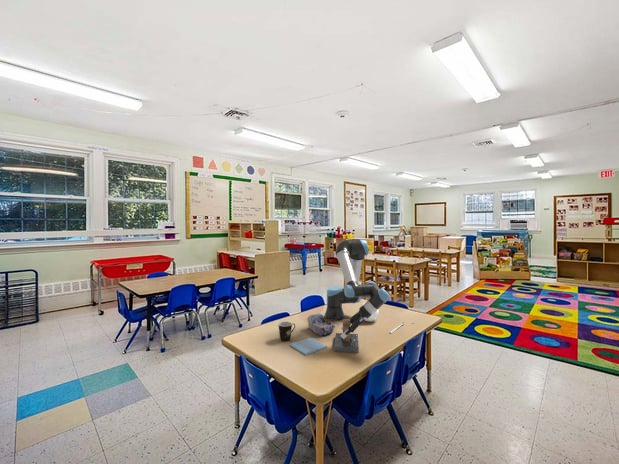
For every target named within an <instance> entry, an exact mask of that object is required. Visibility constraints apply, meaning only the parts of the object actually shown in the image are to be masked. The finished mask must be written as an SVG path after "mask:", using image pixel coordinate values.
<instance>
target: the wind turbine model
mask: <svg viewBox="0 0 619 464" xmlns="http://www.w3.org/2000/svg"><path fill="white" fill-rule="evenodd" d="M404 324H405V321H402V323H401V324H400V325H397V326H396V327H395V328H394V329H392V330H390V331H389V334H393V333H394V332H396V331H397V330H398V329H399V328H401V327H402V326H405V325H404Z"/></svg>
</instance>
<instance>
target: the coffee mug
mask: <svg viewBox="0 0 619 464" xmlns="http://www.w3.org/2000/svg"><path fill="white" fill-rule="evenodd" d="M277 326H278V331H279V340H280V341H281V342H289V341H291V336H292V332H293V331H294V330H295V328H296V324H295V323H292V322H291V321H280V322H279V323H278V325H277ZM293 326H294V327H293ZM292 327H293V329H292Z"/></svg>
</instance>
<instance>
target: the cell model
mask: <svg viewBox="0 0 619 464" xmlns="http://www.w3.org/2000/svg"><path fill="white" fill-rule="evenodd" d="M307 325H308V329H310V330H312V332H314V333H315V334H316V335H319V336H326V335H327V336H328V335H329V334H331V333H333V331H334V330H335V327H336V324H335V323H333V322H332V320H326V318H325V316H324V315H323V314H321V313H315V314H314V313H313V314H310V315H308V317H307Z"/></svg>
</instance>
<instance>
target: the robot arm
mask: <svg viewBox="0 0 619 464" xmlns="http://www.w3.org/2000/svg"><path fill="white" fill-rule="evenodd" d="M368 255H369V245H368V242H367V240H366V239H344V240H341V241H340V242H339V243H338V244H337V245H336V248H335V257H336V259H337V260H338V262H339V266H340V270H341V272H342V276H343V279H344V283H345V285H344V287H343V288H342V286H339V285H338V286H331V287H329V288H328V289H327V291H326V310H325V313H324V318H325V320H328V321H341V320H343V319H345V313H344V310H343V305H344V304H357V303H360V302H361V301H362V298H365V297H370V298H369V299H368V300H367V301H365V302H366V303H365V302H364V303H365V304H364V305H363V306H362V307H361V306H360V307H359V308H358V312H356V313H355V314H353V315H352V316H350V317H349V319H350V328H348V329H347V330H346V331H345V332H344V333H343V332H342V333H343V334H341V335H340V336H341V337H342V338H343V339H345V338H346V337H347V336H348V335H349V334H354V332H355V331H356V329H358V328H359V326H360V325H361V324H362V323H363V322H365V320H363V318H364V317H366V318H369V317H370V316H371V315H372V314H373V313H374V312H377V309H378V310H379V309H380V308H382V306H383V305H384V304H385V303H387V301H388V300H390V298H391V296H390V294H389V293H388V291H387V290H385V288H380V287H379V286H378V284H377V283H376V282H374V281H370V280H369V281H368V282H366V283H365V284H364V283H363V284H360V277H361V271H362V263H363V260H365V258H366V257H365V256H368ZM340 329H341V330H342V331H343V325H342V326H341V327H340Z"/></svg>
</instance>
